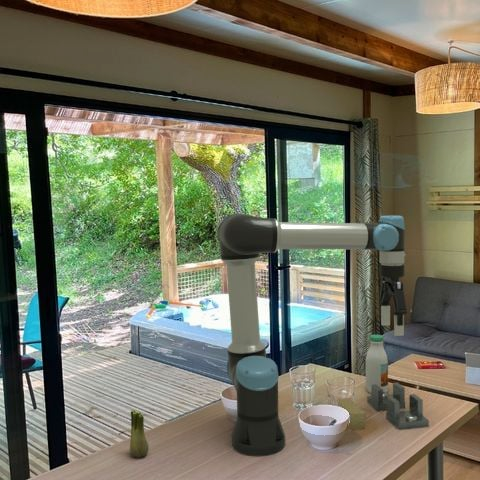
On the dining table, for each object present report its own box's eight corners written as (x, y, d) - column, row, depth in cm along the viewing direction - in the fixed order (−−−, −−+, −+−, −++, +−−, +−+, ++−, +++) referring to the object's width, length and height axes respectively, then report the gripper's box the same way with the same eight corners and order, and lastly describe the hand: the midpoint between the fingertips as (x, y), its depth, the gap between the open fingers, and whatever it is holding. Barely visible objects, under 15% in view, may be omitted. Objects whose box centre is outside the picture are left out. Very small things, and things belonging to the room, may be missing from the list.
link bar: (364, 429, 152) (364, 413, 152) (352, 430, 152) (351, 414, 151) (350, 413, 164) (349, 398, 164) (338, 414, 163) (337, 399, 163)
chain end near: (398, 429, 151) (398, 406, 150) (386, 418, 159) (386, 396, 158) (428, 426, 153) (428, 403, 152) (414, 415, 161) (414, 394, 160)
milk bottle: (373, 396, 178) (373, 339, 177) (361, 388, 185) (361, 334, 184) (392, 393, 180) (392, 337, 179) (379, 385, 188) (379, 332, 186)
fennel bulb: (129, 451, 142) (128, 408, 141) (147, 448, 143) (146, 406, 142) (130, 461, 136) (129, 417, 135) (149, 458, 137) (147, 414, 136)
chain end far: (393, 399, 174) (393, 379, 174) (405, 408, 166) (405, 387, 166) (367, 402, 173) (366, 381, 172) (377, 411, 165) (377, 390, 164)
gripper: (418, 268, 150) (417, 339, 151) (391, 259, 175) (391, 321, 176) (392, 269, 150) (392, 340, 151) (369, 260, 175) (369, 321, 176)
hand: (392, 330), depth 164 cm, fingers open, 13 cm apart
